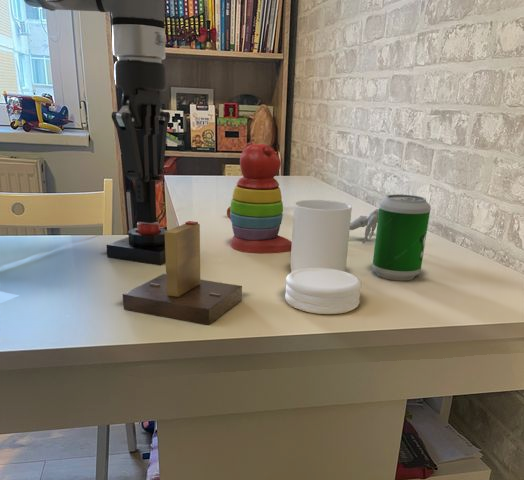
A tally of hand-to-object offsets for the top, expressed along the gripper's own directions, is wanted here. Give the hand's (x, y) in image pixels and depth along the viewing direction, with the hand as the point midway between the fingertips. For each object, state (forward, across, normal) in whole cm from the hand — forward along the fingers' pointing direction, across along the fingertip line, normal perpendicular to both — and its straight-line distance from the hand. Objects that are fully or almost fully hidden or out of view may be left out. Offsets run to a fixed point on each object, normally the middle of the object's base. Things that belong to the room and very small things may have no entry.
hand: (146, 221), depth 92 cm
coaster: (+6, -10, -33) cm, 35 cm away
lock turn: (+3, -19, -17) cm, 26 cm away
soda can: (+5, +8, -40) cm, 41 cm away
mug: (+6, +4, -28) cm, 29 cm away
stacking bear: (+6, +14, -14) cm, 21 cm away
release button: (+2, 0, 0) cm, 2 cm away
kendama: (+6, +43, 0) cm, 43 cm away
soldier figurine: (+5, +29, -29) cm, 42 cm away
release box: (+6, 0, 0) cm, 6 cm away
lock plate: (+6, -19, -17) cm, 26 cm away
